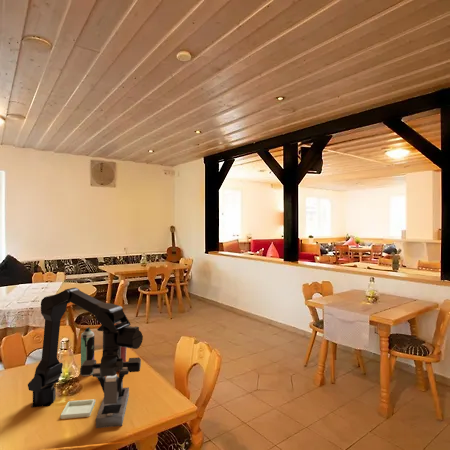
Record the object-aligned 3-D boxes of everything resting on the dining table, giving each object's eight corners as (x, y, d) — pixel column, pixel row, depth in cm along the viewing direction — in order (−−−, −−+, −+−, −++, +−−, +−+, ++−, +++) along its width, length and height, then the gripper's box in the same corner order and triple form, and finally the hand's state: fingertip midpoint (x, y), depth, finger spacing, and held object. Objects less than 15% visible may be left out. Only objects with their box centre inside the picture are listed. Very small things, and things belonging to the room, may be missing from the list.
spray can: (93, 375, 148) (93, 329, 148) (80, 377, 146) (80, 330, 146) (94, 370, 153) (94, 325, 153) (81, 371, 151) (81, 326, 151)
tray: (60, 420, 113) (60, 415, 113) (68, 406, 122) (68, 401, 122) (89, 417, 115) (89, 412, 115) (95, 403, 124) (95, 399, 124)
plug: (103, 404, 111) (104, 379, 111) (106, 398, 115) (106, 374, 115) (116, 403, 112) (116, 378, 112) (118, 397, 116) (118, 373, 116)
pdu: (95, 429, 108) (95, 402, 108) (106, 398, 128) (106, 375, 128) (122, 427, 109) (122, 400, 109) (128, 396, 129) (128, 374, 129)
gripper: (75, 355, 104) (75, 406, 104) (138, 352, 107) (138, 401, 107) (84, 343, 115) (84, 389, 115) (141, 340, 118) (140, 385, 118)
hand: (111, 391), depth 114 cm, fingers closed on plug, 4 cm apart
